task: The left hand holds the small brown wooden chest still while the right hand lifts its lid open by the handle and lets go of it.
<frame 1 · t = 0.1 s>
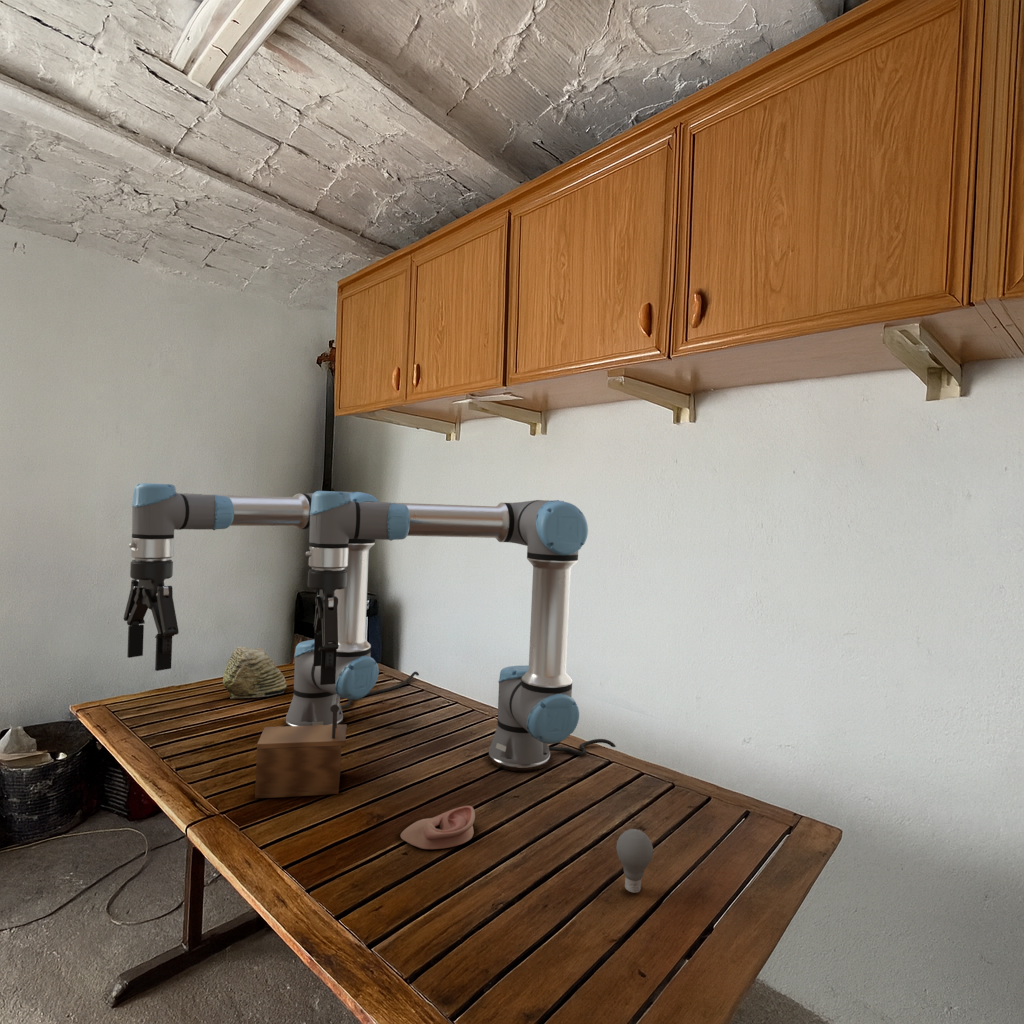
left hand: (148, 662, 129), 28 cm above the table, tool pointing down, fingers open, 13 cm apart
right hand: (323, 674, 127), 28 cm above the table, tool pointing down, fingers open, 13 cm apart
fossil: (254, 694, 198), on the table
chest: (299, 785, 138), on the table
light bulb: (632, 891, 106), on the table
lid: (304, 719, 138), point 15 cm above the table, hinge at 0.0°
anatomical model: (438, 835, 121), on the table
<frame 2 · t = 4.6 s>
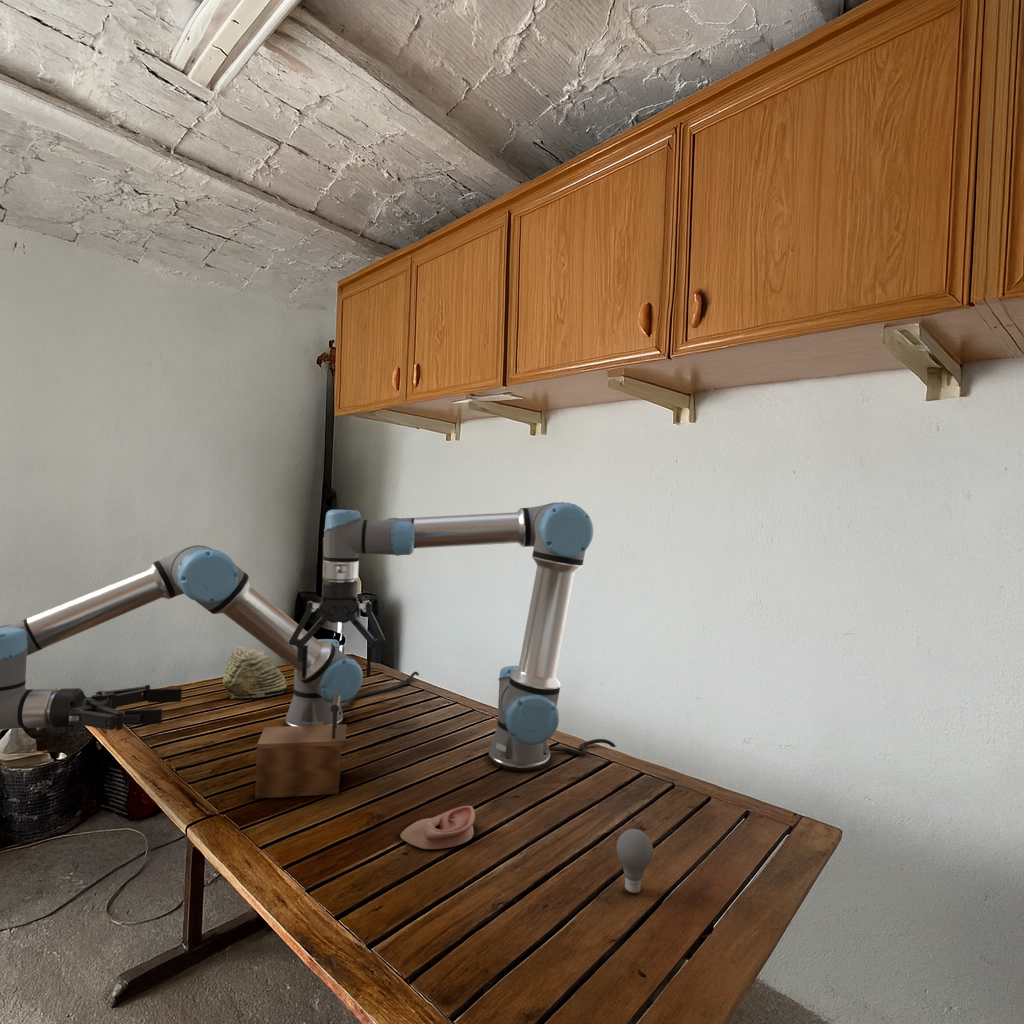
left hand: (172, 705, 132), 19 cm above the table, tool horizontal, fingers open, 13 cm apart
right hand: (336, 676, 139), 24 cm above the table, tool pointing down, fingers open, 13 cm apart
nothing on the table moved.
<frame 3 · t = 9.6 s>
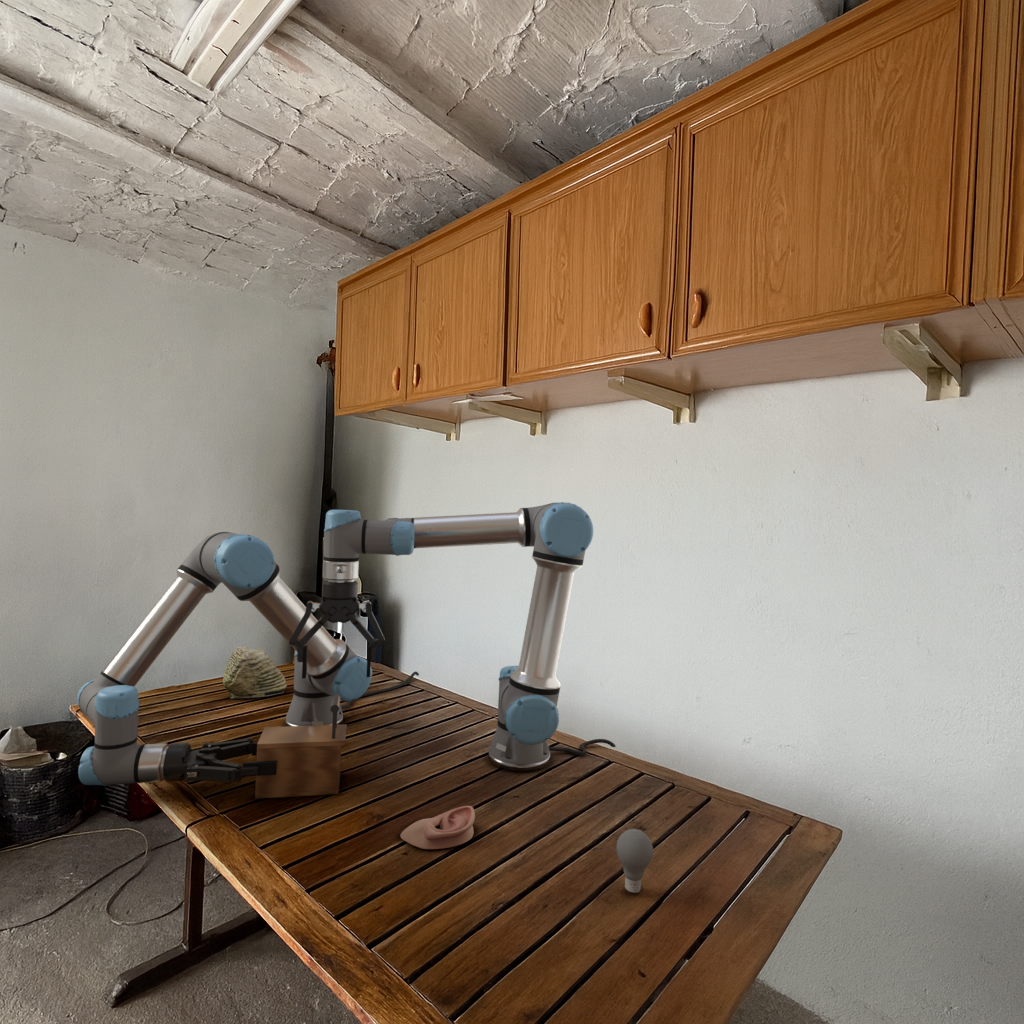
left hand: (279, 757, 137), 7 cm above the table, tool horizontal, fingers closed on chest, 10 cm apart
right hand: (336, 676, 139), 24 cm above the table, tool pointing down, fingers open, 13 cm apart
chest: (299, 785, 138), on the table, touching left hand
everything else where it was.
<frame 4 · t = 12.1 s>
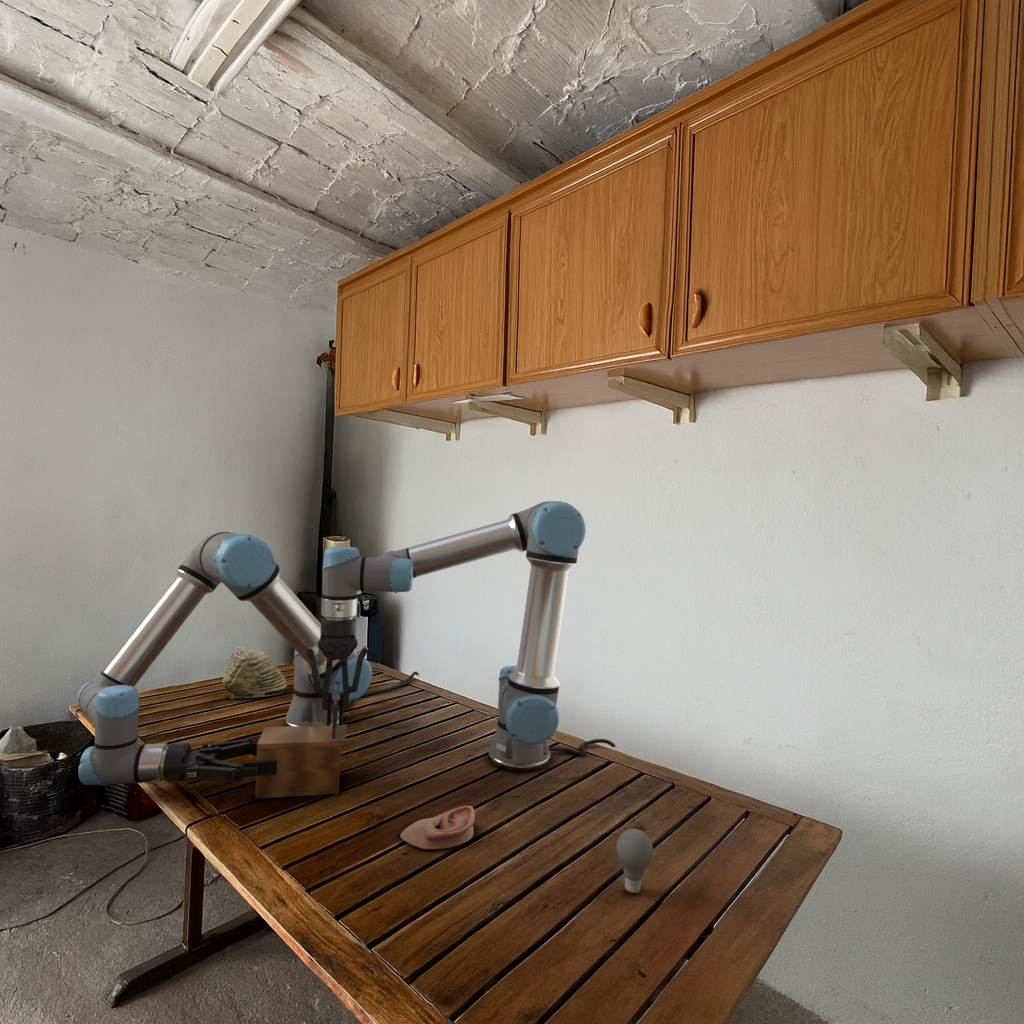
left hand: (279, 757, 137), 7 cm above the table, tool horizontal, fingers closed on chest, 10 cm apart
right hand: (334, 723, 140), 14 cm above the table, tool pointing down, fingers closed on lid, 2 cm apart
chest: (299, 785, 138), on the table, touching left hand
lid: (304, 719, 138), point 15 cm above the table, hinge at -0.1°, touching right hand
everything else where it was.
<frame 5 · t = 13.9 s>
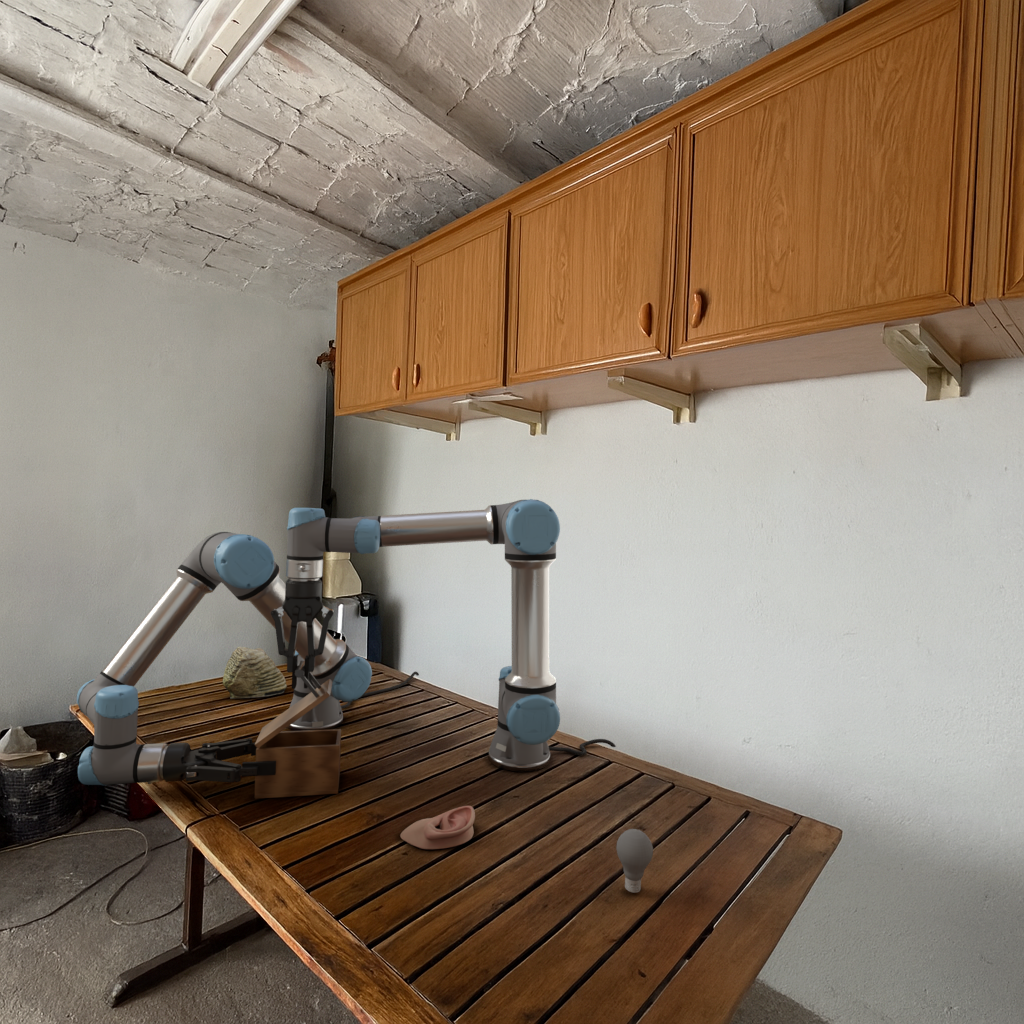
left hand: (279, 757, 137), 6 cm above the table, tool horizontal, fingers closed on chest, 10 cm apart
right hand: (300, 686, 138), 22 cm above the table, tool pointing down, fingers closed on lid, 2 cm apart
chest: (299, 785, 138), on the table, touching left hand
lid: (285, 698, 137), point 19 cm above the table, hinge at 36.9°, touching right hand
everything else where it was.
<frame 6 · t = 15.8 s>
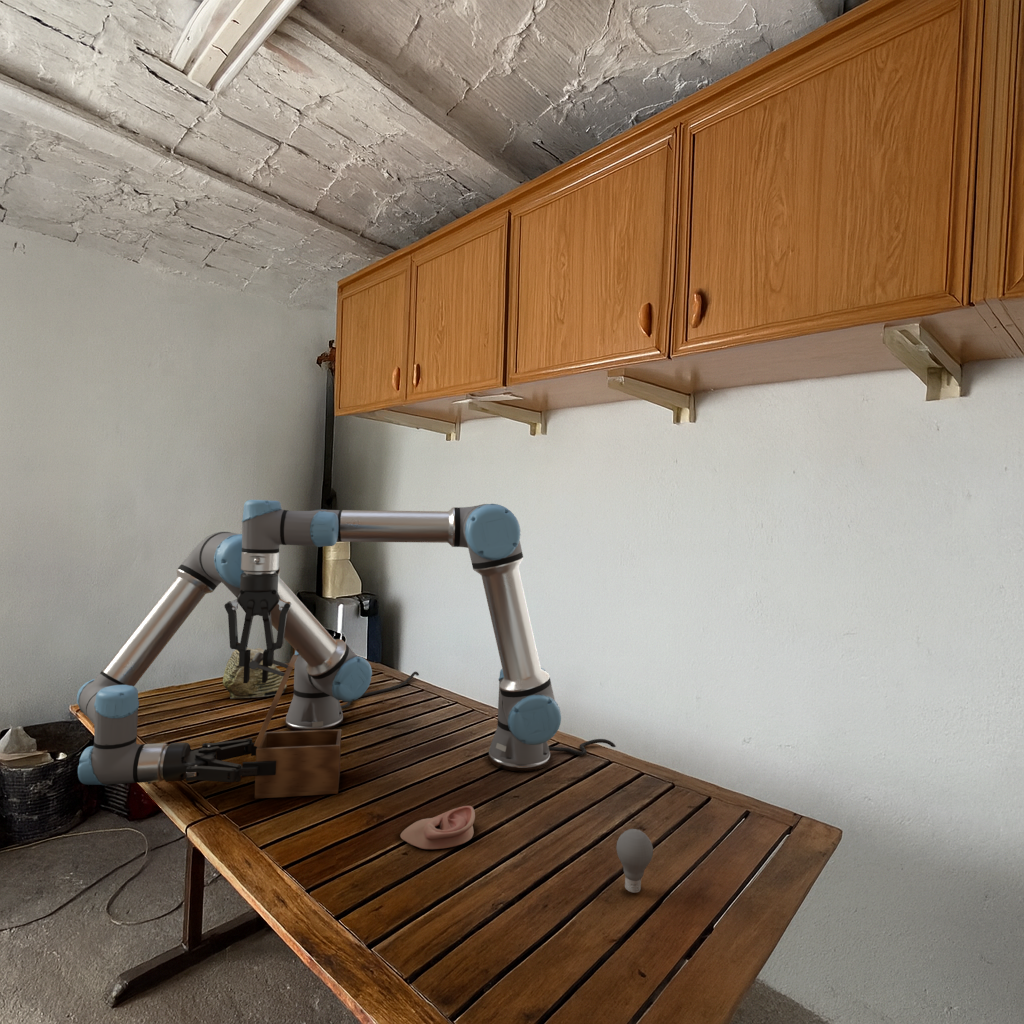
left hand: (279, 757, 137), 6 cm above the table, tool horizontal, fingers closed on chest, 10 cm apart
right hand: (255, 680, 136), 23 cm above the table, tool pointing down, fingers open, 3 cm apart
chest: (299, 785, 138), on the table, touching left hand
lid: (259, 693, 136), point 21 cm above the table, hinge at 69.4°
everything else where it was.
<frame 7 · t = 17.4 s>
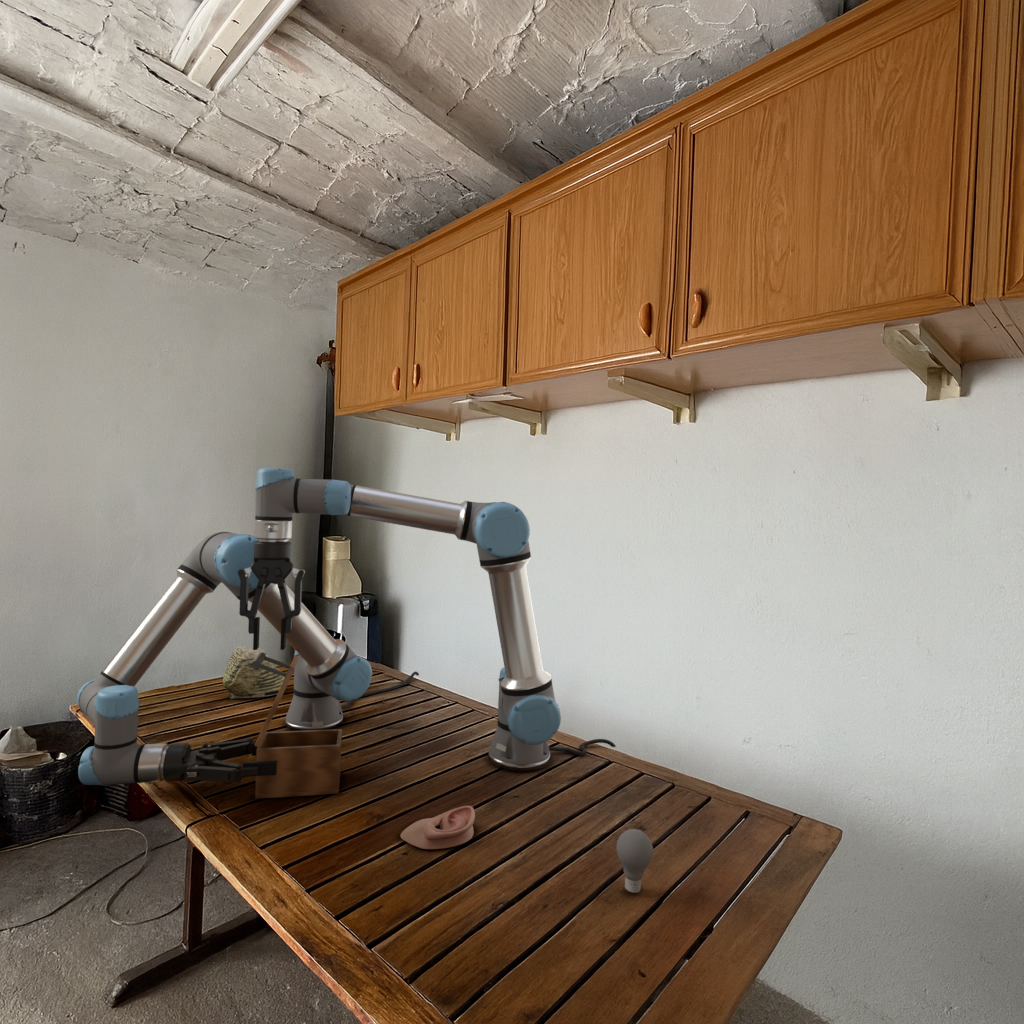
left hand: (279, 757, 137), 6 cm above the table, tool horizontal, fingers closed on chest, 10 cm apart
right hand: (269, 648, 136), 30 cm above the table, tool pointing down, fingers open, 5 cm apart
chest: (299, 785, 138), on the table, touching left hand
lid: (261, 693, 136), point 21 cm above the table, hinge at 68.3°
everything else where it was.
when the left hand's fingers open (6 cm above the table, at t = 19.8 s): chest stays where it is, on the table.
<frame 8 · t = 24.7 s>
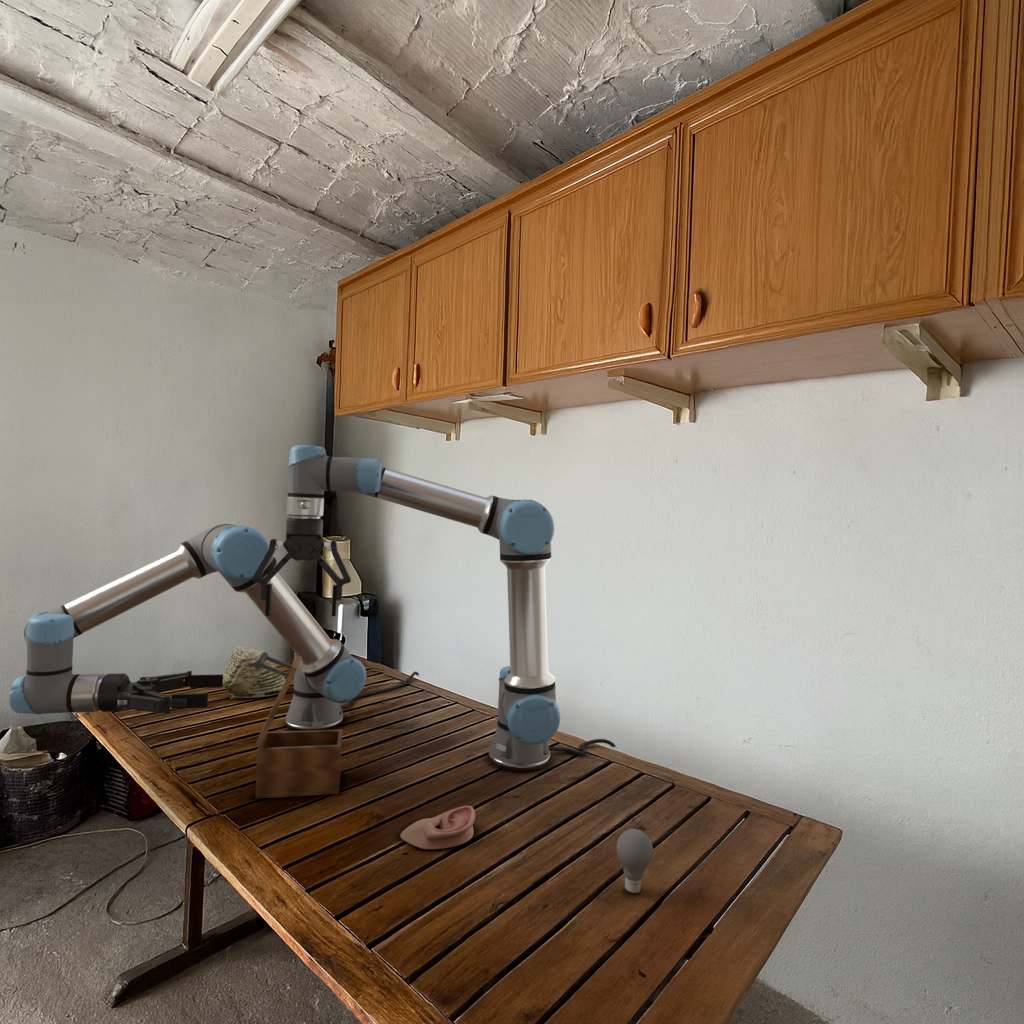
left hand: (215, 690, 134), 21 cm above the table, tool horizontal, fingers open, 13 cm apart
right hand: (301, 615, 137), 37 cm above the table, tool pointing down, fingers open, 13 cm apart
chest: (300, 785, 138), on the table
lid: (262, 693, 136), point 21 cm above the table, hinge at 67.4°
everything else where it was.
at the end: lid at +67° (first picture: +0°); the left hand is holding nothing; the right hand is holding nothing; chest tilted 0°; chest never tilted more than 1° during the clip; chest moved 0.1 cm from its start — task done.
